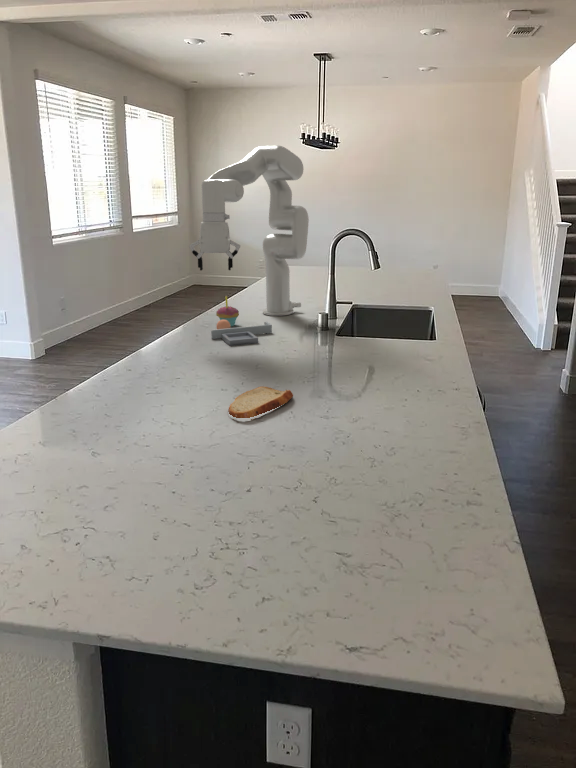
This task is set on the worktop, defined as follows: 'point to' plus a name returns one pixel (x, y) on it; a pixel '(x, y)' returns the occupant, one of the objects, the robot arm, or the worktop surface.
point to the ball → (223, 324)
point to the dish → (239, 338)
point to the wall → (243, 330)
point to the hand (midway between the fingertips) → (215, 269)
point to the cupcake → (228, 313)
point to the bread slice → (258, 402)
